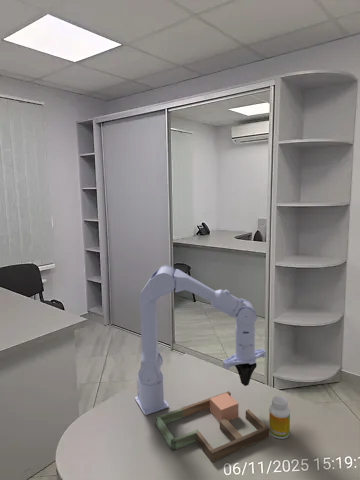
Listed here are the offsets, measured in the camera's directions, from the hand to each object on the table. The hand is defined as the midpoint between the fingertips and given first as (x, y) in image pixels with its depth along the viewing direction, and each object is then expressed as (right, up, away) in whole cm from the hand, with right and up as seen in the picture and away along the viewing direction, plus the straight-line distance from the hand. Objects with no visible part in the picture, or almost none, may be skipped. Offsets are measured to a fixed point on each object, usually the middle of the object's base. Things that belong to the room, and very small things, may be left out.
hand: (244, 383), depth 106 cm
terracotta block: (-7, -8, -2) cm, 11 cm away
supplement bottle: (+8, -9, -10) cm, 16 cm away
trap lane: (-11, -9, -9) cm, 17 cm away
